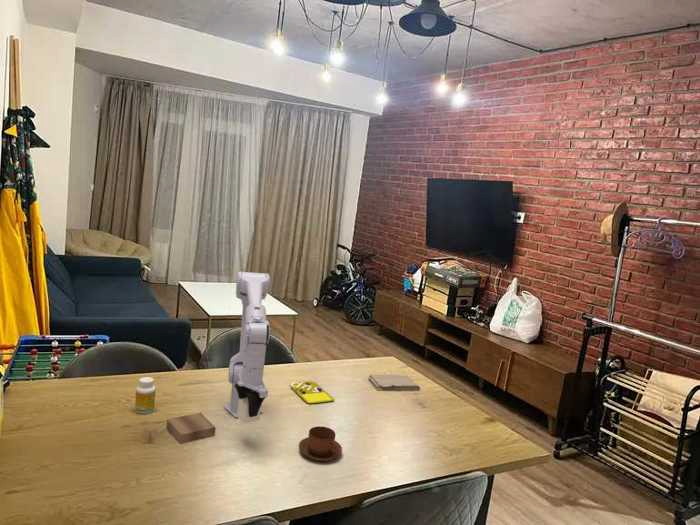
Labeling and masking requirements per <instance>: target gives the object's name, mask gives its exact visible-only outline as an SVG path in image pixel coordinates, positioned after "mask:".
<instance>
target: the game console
mask: <svg viewBox="0 0 700 525" xmlns="http://www.w3.org/2000/svg"><path fill="white" fill-rule="evenodd" d="M289 386H290V387H291V388H290V387H289V388H290V390H292V391H293V393H295V395H297V396H298V397H299V398H300V399H301V400H302V401H303V402H304V403H305V404H306V405H309V406H312V405H321V404H329V403H334V402H335V398H334V397H333V396H332V395H331V394H329V393H328V392H327V391H326V390H325V389H324V388H322V386H320V385H319V384H318V383H317V382H316V381H313V380H309V381H294V382H292V383H290V385H289Z"/></svg>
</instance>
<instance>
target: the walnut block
mask: <svg viewBox="0 0 700 525" xmlns="http://www.w3.org/2000/svg"><path fill="white" fill-rule="evenodd" d="M166 429H167V430H168V431H169V433H170V434H171V435H172V436H173V437H174V439H176V441H177V442H178V443H179V444H181V445H182V444H183V443H190V442H193V441H198V440H202V439H206V438H210V437H215V435H216V426H215V425H214V424H213V423H212V422H211V421H210V420H209V419H208V418H207V417H206V416H205V415H204V414H203V413H202V412H198V413H192V414H186V415H182V416H177V417H176V416H175V417H172V418H167V419H166Z"/></svg>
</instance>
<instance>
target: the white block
mask: <svg viewBox="0 0 700 525" xmlns="http://www.w3.org/2000/svg"><path fill="white" fill-rule="evenodd" d="M260 414H261V413H260V408H259V411H258V414H257V416H254V417H250V416H249V404H248V398H242V399H239V403H238V413H237V416H238V417H237V418H239V419H240V420H241V421H242V422H243V423H244V424H245V423H250V422H251V423H252V422H255V421H259V420H260V416H261V415H260Z"/></svg>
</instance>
